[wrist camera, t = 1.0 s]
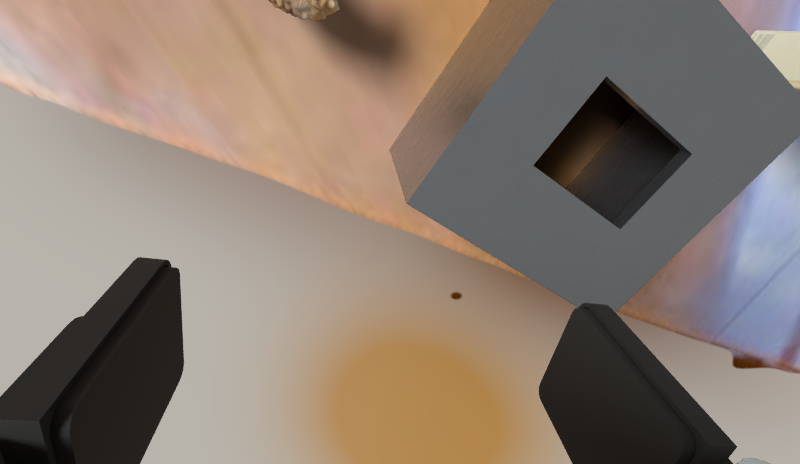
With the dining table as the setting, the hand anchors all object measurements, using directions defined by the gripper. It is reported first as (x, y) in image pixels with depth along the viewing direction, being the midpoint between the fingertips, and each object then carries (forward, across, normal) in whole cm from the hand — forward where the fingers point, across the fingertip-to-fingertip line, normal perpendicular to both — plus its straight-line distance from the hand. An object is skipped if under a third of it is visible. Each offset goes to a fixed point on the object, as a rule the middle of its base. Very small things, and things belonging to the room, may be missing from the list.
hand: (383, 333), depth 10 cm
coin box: (+27, -15, -2) cm, 31 cm away
